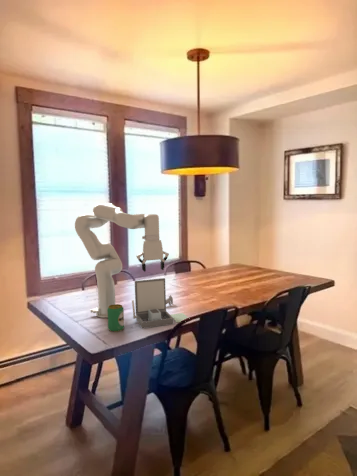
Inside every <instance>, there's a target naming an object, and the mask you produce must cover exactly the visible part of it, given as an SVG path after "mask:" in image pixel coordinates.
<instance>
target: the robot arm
mask: <svg viewBox="0 0 357 476" xmlns="http://www.w3.org/2000/svg"><path fill="white" fill-rule="evenodd" d="M159 220H160V218H159V215H158V214H155V213H154V214H152V213H151V214H146V213H136V214H134V213H133V214H130V213H125V212H124V211H123V208H121V207H118V206H116V205H115V204H113V203H111V202H107V203H106V202H105V203H97V204H95V206H94V207H93V209H92V213H83V214H79V215H78V217H76V219H75V221H74V230H75V232H76V235H78V237H79V239H80V241H82V243H83V246H84V248H85V250H86V251H87V253H88V256H89V257H90V258H91V260H93V261H98V262H97V263H96V264H95V266H94V272H95V276H96V281H97V283H96V284H97V297H98V299H97V300H98V306H97V307H96V308H90V310H89V311H90V313H92V314H95V315H96V317H98V318H101V319H102V318H104V319H105V318H106V319H108V311H107V309H108V307H109V306H110V305H114V304H116V289H115V288H116V287H115V286H116V285H115V280H114V278H113V276H114V275H117V274H120V273H121V271H122V270H123V262H122V260H121V258H120V257H119V254H118V252H117V250H116V248H115V247H114V246H113V245H112V244H111V243H109V242H107V241H106V242H105V241H103V242H101V241H100V240H99V239H98V236H97V234H95V232H93V231H92V230H91V229H96V228H101V227H103V226H104V225H105V224H106V223H109V222H111V223H115V224H116V225H117V226H119V227H122V228H124V229H125V228H126V229H130V230H137V229H144V235H143V236H142V238H141V239H142V240H144V241H143V244H142V252H140V253H139V254H136V259H137V260H138V262H139V263H140V264H141V270H142V271H143V272H144V273H146V271H147V270H146V269H147V267H146V266H147V265H146V262H147V261H158V260H160V270H161V271H164V269H165V263H166V261H167V260H168V257H169V253H168V252H167V251H164V249H163V243H162V240H160V221H159ZM141 257H142V259H141Z"/></svg>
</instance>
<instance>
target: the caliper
mask: <svg viewBox="0 0 357 476" xmlns="http://www.w3.org/2000/svg"><path fill="white" fill-rule="evenodd" d="M167 304H168V305H169V306H172V305H173V304H174V299H173V296H172V295H171V294H170V295H168V297H166V305H167Z"/></svg>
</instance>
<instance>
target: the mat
mask: <svg viewBox="0 0 357 476" xmlns="http://www.w3.org/2000/svg"><path fill="white" fill-rule="evenodd" d="M170 315H171V316H172V317H173V318H174V322H176V323H177V324H178V323H182V322H181V321H182V320H184V319H186V318H189V317H188V316H187V315H186V314H185V313H183V312H180V313H174V314H173V313H172V314H170Z"/></svg>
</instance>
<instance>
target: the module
mask: <svg viewBox="0 0 357 476" xmlns="http://www.w3.org/2000/svg"><path fill="white" fill-rule="evenodd" d="M161 319H162V317H161V312H160V311H159V310H158V309H150V310H148V319H147V321H153V320H161Z"/></svg>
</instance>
